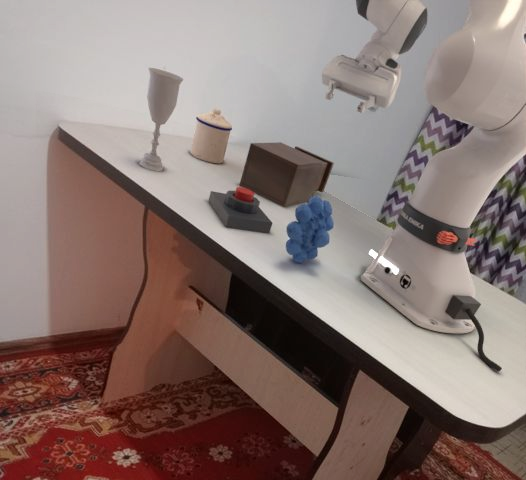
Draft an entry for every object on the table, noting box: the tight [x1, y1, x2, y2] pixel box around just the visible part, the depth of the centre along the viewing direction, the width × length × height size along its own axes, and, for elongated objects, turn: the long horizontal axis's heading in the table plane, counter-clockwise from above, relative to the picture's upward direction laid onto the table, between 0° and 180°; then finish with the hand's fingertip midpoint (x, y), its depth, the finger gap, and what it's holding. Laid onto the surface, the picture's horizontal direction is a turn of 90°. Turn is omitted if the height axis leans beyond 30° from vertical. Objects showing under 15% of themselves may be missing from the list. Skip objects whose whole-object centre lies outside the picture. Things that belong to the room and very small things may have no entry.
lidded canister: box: [190, 107, 233, 164], centre depth 117 cm, size 12×9×12 cm
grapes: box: [285, 195, 334, 264], centre depth 77 cm, size 12×7×12 cm, turn 136°
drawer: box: [293, 146, 335, 193], centre depth 118 cm, size 18×11×8 cm, turn 149°
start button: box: [234, 186, 255, 202], centre depth 88 cm, size 4×4×2 cm
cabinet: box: [239, 141, 324, 208], centre depth 109 cm, size 15×13×10 cm
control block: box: [208, 190, 273, 234], centre depth 89 cm, size 12×9×4 cm
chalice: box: [139, 67, 184, 172], centre depth 95 cm, size 7×7×18 cm
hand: (343, 103), depth 119 cm, fingers open, 8 cm apart
